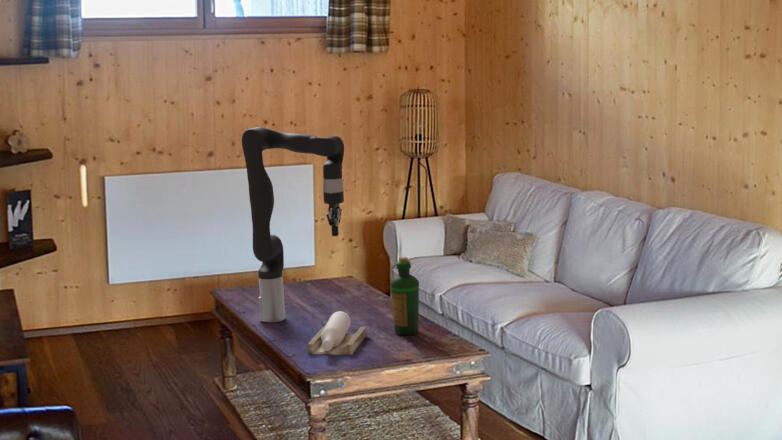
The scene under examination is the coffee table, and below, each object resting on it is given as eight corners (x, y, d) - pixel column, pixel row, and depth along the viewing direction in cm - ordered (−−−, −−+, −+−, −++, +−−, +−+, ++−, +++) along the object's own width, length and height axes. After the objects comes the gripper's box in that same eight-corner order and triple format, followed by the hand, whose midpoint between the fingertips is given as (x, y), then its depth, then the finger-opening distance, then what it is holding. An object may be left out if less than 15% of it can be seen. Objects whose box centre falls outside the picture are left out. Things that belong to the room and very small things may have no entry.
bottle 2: (391, 329, 402) (387, 256, 397) (419, 327, 403) (416, 254, 398) (393, 337, 392) (389, 262, 387) (422, 335, 392) (419, 260, 387)
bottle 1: (355, 319, 398) (342, 344, 369) (342, 335, 400) (329, 361, 371) (337, 306, 398) (324, 330, 369) (325, 322, 400) (310, 347, 371)
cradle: (308, 354, 377) (307, 344, 377) (324, 335, 398) (323, 326, 398) (352, 354, 374) (352, 344, 373) (366, 336, 395) (366, 326, 395)
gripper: (328, 187, 410) (330, 232, 413) (318, 193, 397) (320, 239, 400) (347, 187, 408) (349, 232, 411) (338, 193, 395) (340, 239, 399)
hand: (335, 235), depth 406 cm, fingers closed
